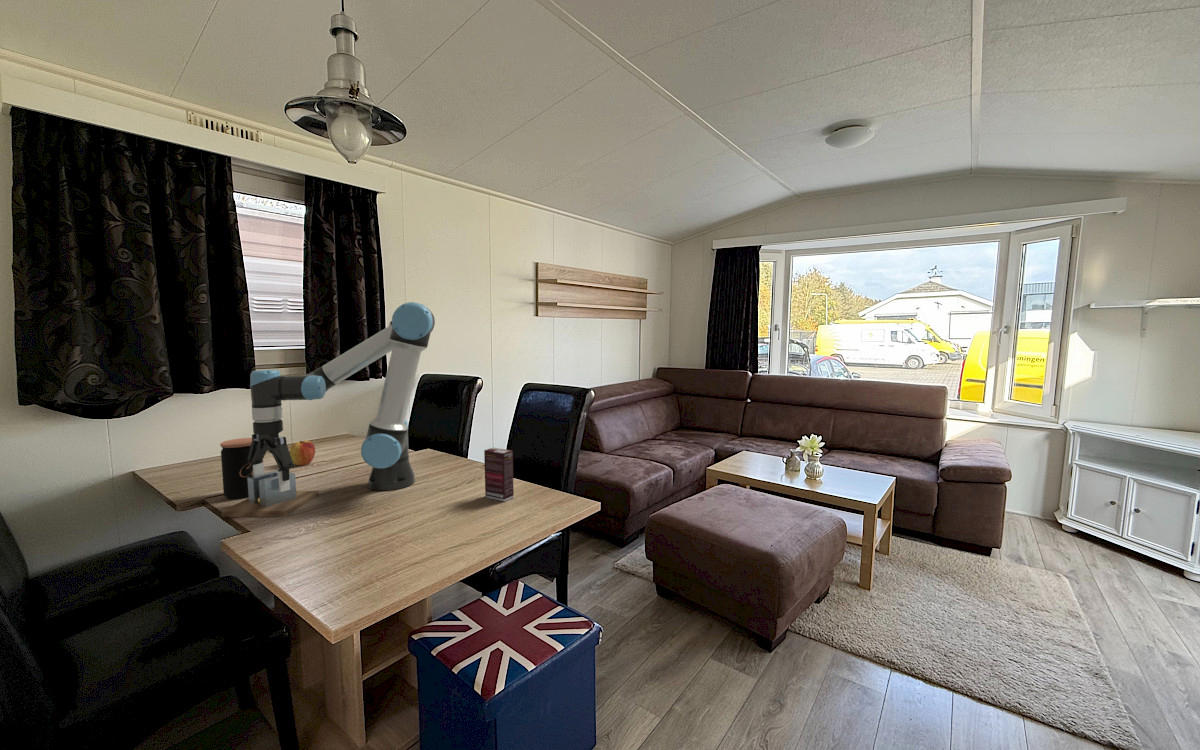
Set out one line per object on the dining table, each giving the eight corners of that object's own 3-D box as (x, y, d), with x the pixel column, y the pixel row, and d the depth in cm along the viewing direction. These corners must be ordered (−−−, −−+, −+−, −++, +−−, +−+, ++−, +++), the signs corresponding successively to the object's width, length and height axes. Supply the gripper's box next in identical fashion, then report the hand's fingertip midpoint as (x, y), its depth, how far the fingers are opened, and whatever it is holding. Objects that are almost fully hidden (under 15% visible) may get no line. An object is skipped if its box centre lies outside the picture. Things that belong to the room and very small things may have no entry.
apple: (306, 467, 190) (305, 443, 189) (284, 467, 190) (282, 443, 189) (320, 461, 199) (319, 438, 198) (299, 461, 199) (297, 438, 199)
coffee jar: (242, 500, 153) (239, 445, 151) (215, 498, 155) (211, 444, 153) (271, 490, 163) (268, 438, 162) (245, 488, 165) (242, 437, 164)
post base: (318, 495, 158) (316, 473, 158) (285, 515, 140) (283, 491, 140) (262, 495, 157) (260, 473, 157) (221, 516, 139) (219, 491, 139)
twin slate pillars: (296, 498, 151) (295, 473, 150) (266, 507, 143) (264, 481, 142) (279, 493, 155) (278, 469, 154) (249, 502, 147) (247, 477, 146)
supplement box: (514, 497, 156) (513, 450, 155) (504, 502, 152) (503, 453, 151) (494, 493, 160) (493, 447, 159) (484, 497, 156) (483, 450, 155)
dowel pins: (285, 496, 153) (284, 490, 152) (287, 496, 152) (287, 490, 152) (257, 504, 145) (256, 498, 145) (259, 505, 145) (259, 498, 145)
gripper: (304, 421, 144) (308, 489, 146) (257, 414, 155) (261, 478, 157) (278, 425, 138) (283, 497, 139) (231, 418, 149) (236, 484, 151)
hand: (271, 487), depth 148 cm, fingers open, 13 cm apart
